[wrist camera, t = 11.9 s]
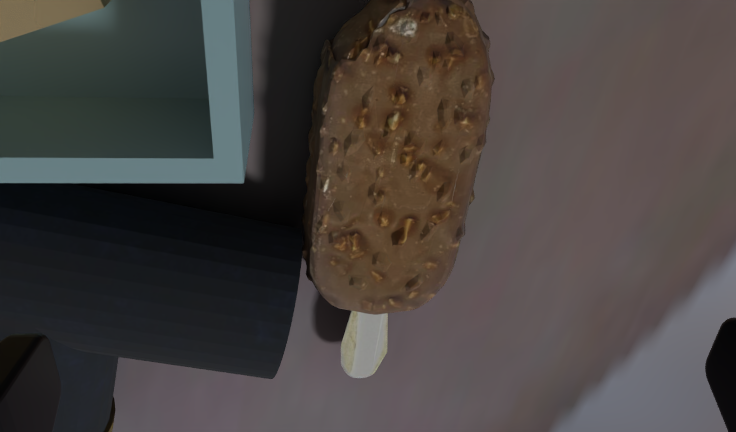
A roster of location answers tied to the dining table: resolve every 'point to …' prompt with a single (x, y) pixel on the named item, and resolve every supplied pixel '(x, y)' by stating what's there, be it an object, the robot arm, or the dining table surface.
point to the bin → (130, 95)
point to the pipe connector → (140, 288)
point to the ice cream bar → (393, 162)
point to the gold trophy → (40, 14)
